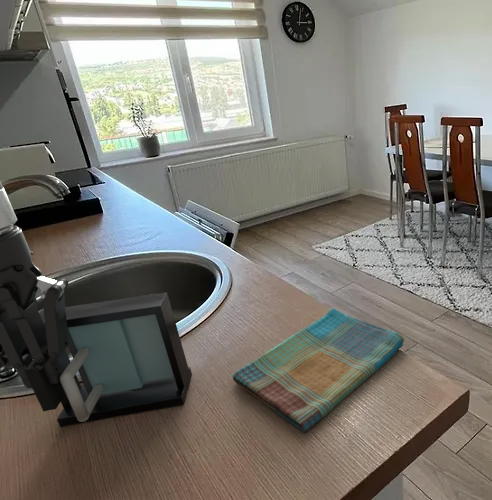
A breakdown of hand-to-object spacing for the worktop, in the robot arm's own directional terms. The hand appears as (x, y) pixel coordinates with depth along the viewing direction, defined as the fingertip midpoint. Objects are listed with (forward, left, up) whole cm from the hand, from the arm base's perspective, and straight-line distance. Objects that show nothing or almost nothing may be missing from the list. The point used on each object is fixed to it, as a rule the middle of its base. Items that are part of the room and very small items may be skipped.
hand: (54, 402), depth 54 cm
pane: (+4, +3, -5) cm, 7 cm away
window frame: (+6, +6, -7) cm, 11 cm away
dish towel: (+35, +7, -7) cm, 37 cm away
